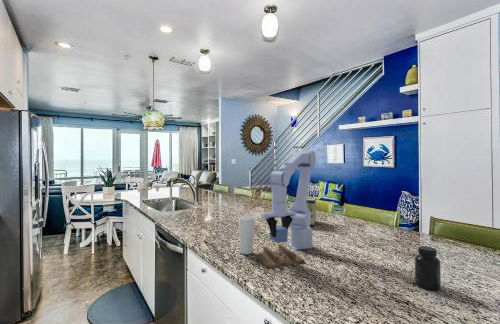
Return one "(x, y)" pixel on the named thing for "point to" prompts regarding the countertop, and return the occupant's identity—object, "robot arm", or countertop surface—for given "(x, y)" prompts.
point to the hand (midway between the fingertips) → (279, 235)
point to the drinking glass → (246, 234)
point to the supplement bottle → (427, 269)
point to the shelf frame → (278, 257)
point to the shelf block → (280, 234)
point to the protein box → (311, 209)
